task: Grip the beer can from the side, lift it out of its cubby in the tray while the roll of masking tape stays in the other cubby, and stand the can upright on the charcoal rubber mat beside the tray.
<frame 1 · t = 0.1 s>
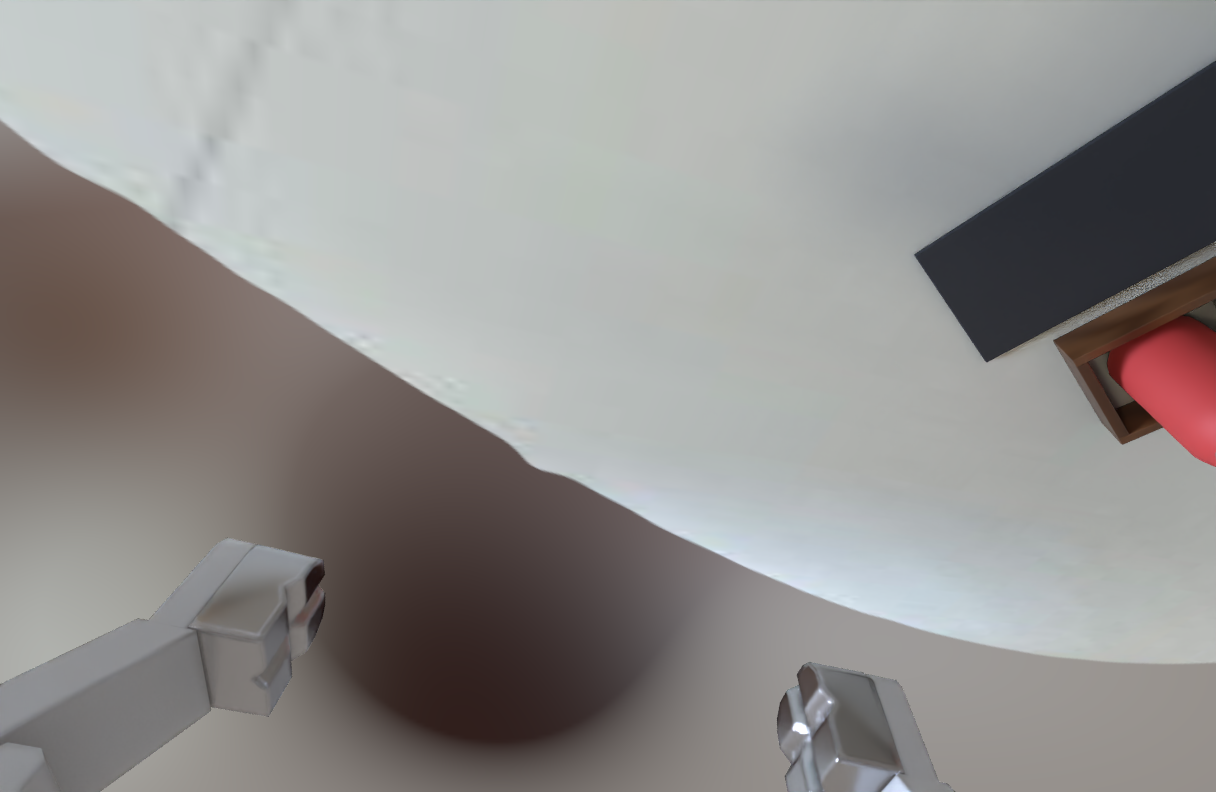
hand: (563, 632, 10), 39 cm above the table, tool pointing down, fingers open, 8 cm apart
mat: (1090, 228, 43), on the table
beer can: (1149, 347, 48), resting in tray
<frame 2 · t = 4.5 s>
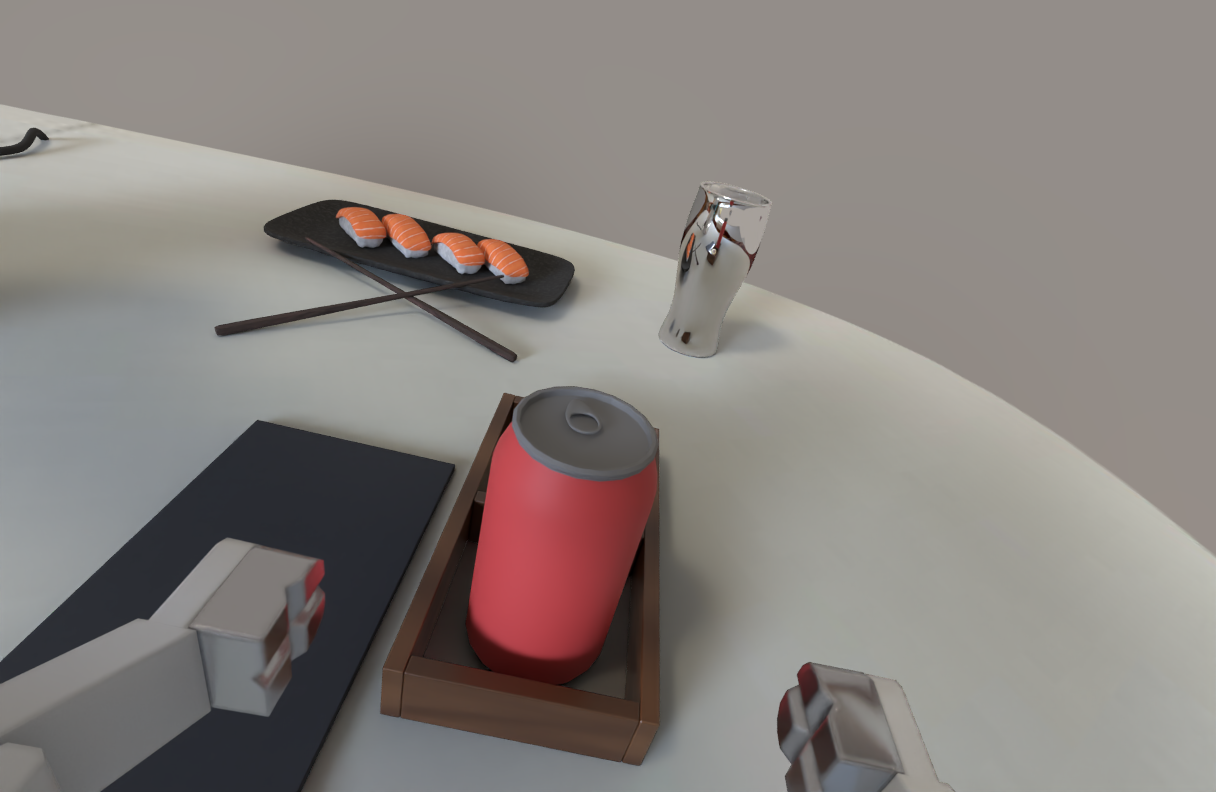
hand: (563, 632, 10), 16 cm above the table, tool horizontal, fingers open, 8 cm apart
mat: (264, 572, 28), on the table
tray: (550, 554, 33), on the table
beer can: (534, 632, 29), resting in tray
beer glass: (686, 344, 61), on the table
sushi plate: (397, 291, 56), on the table
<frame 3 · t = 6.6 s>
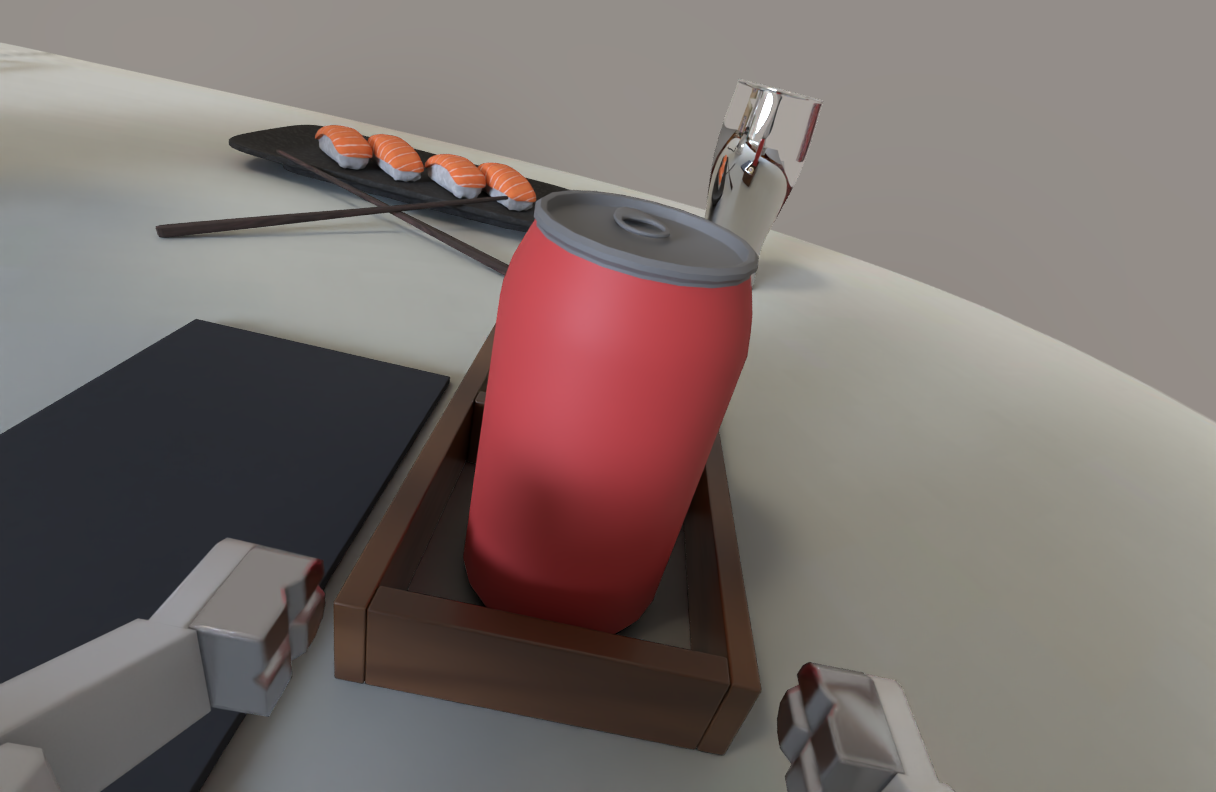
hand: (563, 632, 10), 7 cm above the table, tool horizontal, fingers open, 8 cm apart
mat: (181, 488, 20), on the table
tray: (576, 480, 25), on the table
beer can: (558, 573, 21), resting in tray
beer glass: (717, 279, 53), on the table
sushi plate: (384, 212, 48), on the table
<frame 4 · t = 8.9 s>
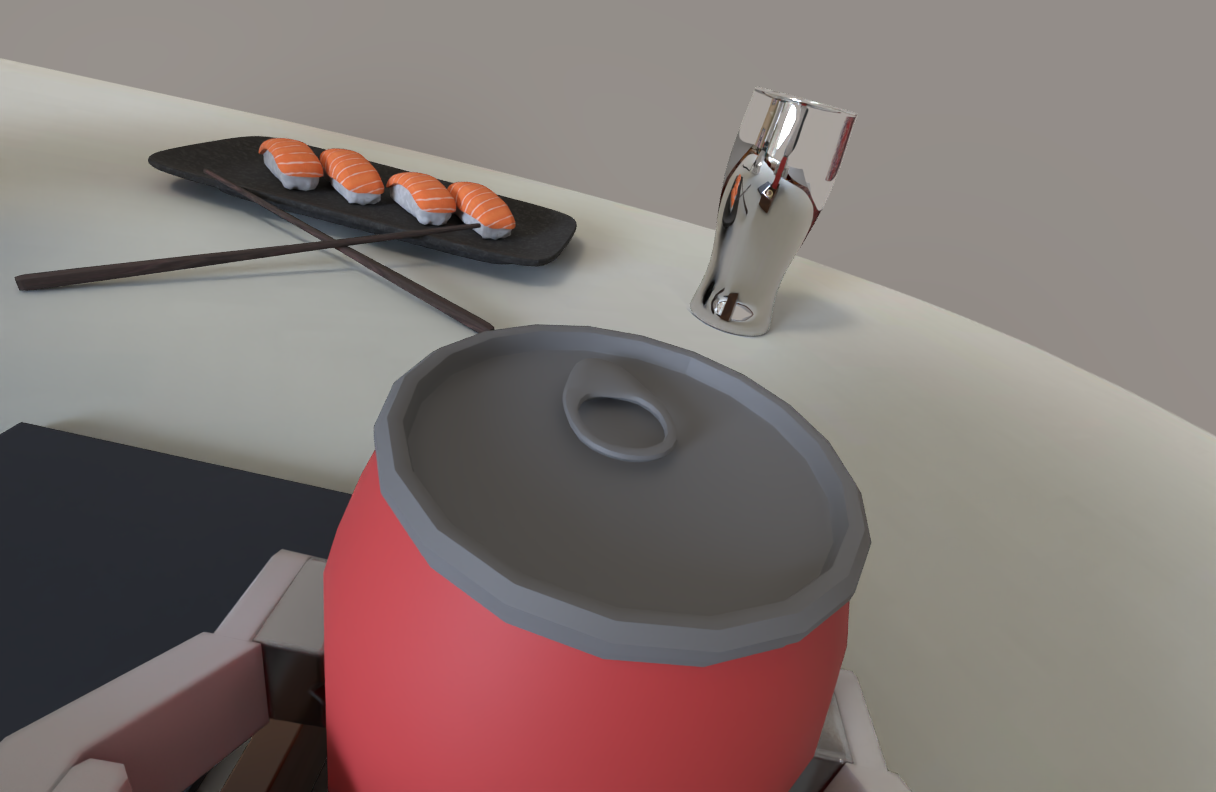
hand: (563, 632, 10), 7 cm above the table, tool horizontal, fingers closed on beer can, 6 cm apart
tray: (536, 676, 17), on the table
beer glass: (727, 319, 45), on the table
sushi plate: (332, 244, 41), on the table
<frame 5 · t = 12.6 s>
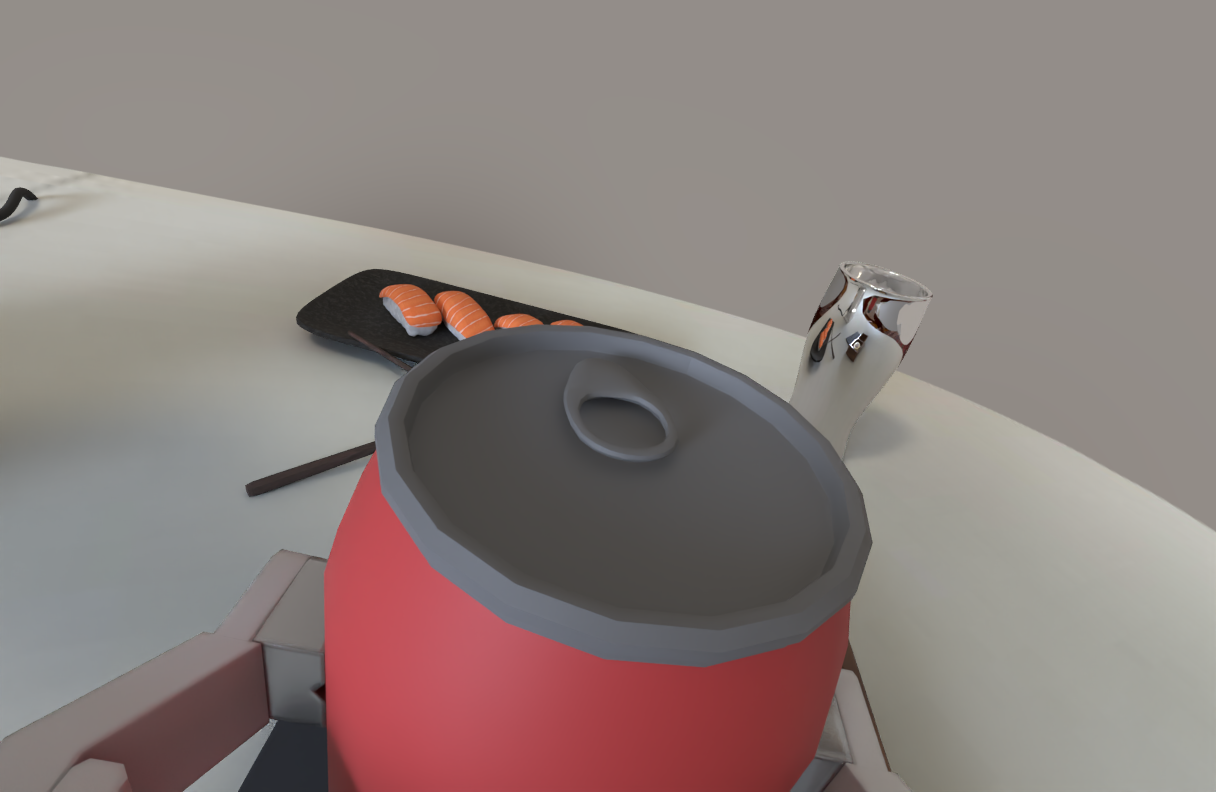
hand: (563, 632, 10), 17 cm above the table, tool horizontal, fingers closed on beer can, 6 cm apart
beer glass: (803, 449, 50), on the table
sushi plate: (461, 396, 46), on the table
when the fingers open (8 cm above the table, at t = 16.2 s): beer can stays where it is, resting on mat.
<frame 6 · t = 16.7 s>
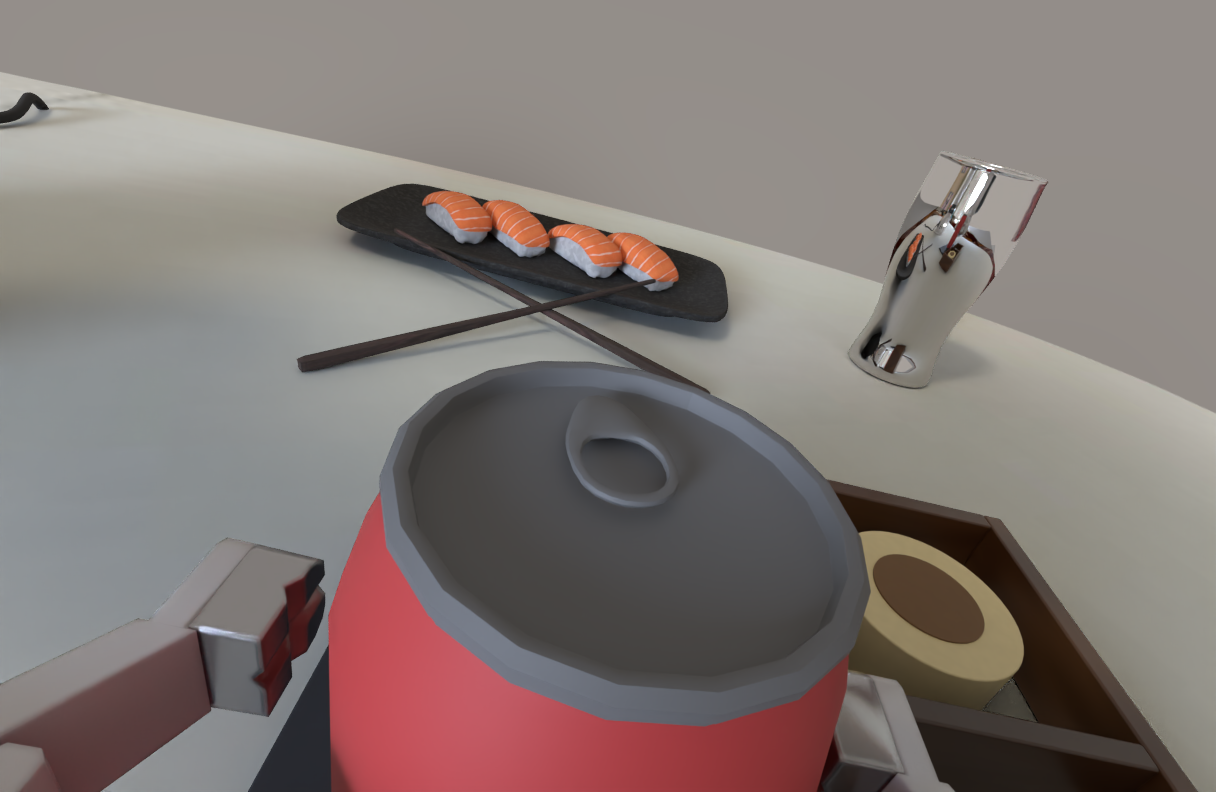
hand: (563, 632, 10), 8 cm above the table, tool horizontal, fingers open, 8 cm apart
tray: (947, 781, 18), on the table
beer glass: (885, 369, 46), on the table
sushi plate: (518, 301, 42), on the table
tape roll: (892, 643, 22), resting in tray
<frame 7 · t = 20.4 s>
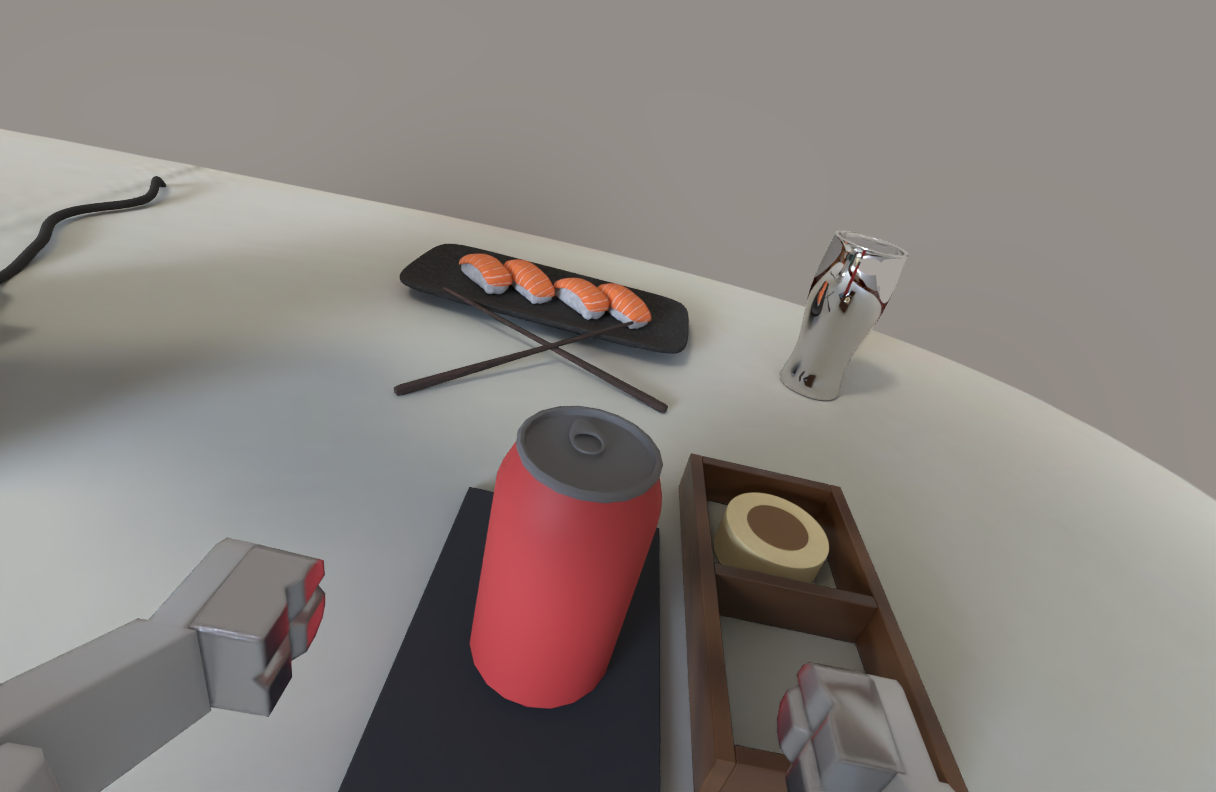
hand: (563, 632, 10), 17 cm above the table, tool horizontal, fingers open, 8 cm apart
mat: (535, 650, 29), on the table
tray: (776, 621, 34), on the table
beer can: (538, 651, 29), resting on mat
beer glass: (807, 386, 62), on the table
sushi plate: (532, 339, 57), on the table
tape roll: (762, 557, 38), resting in tray
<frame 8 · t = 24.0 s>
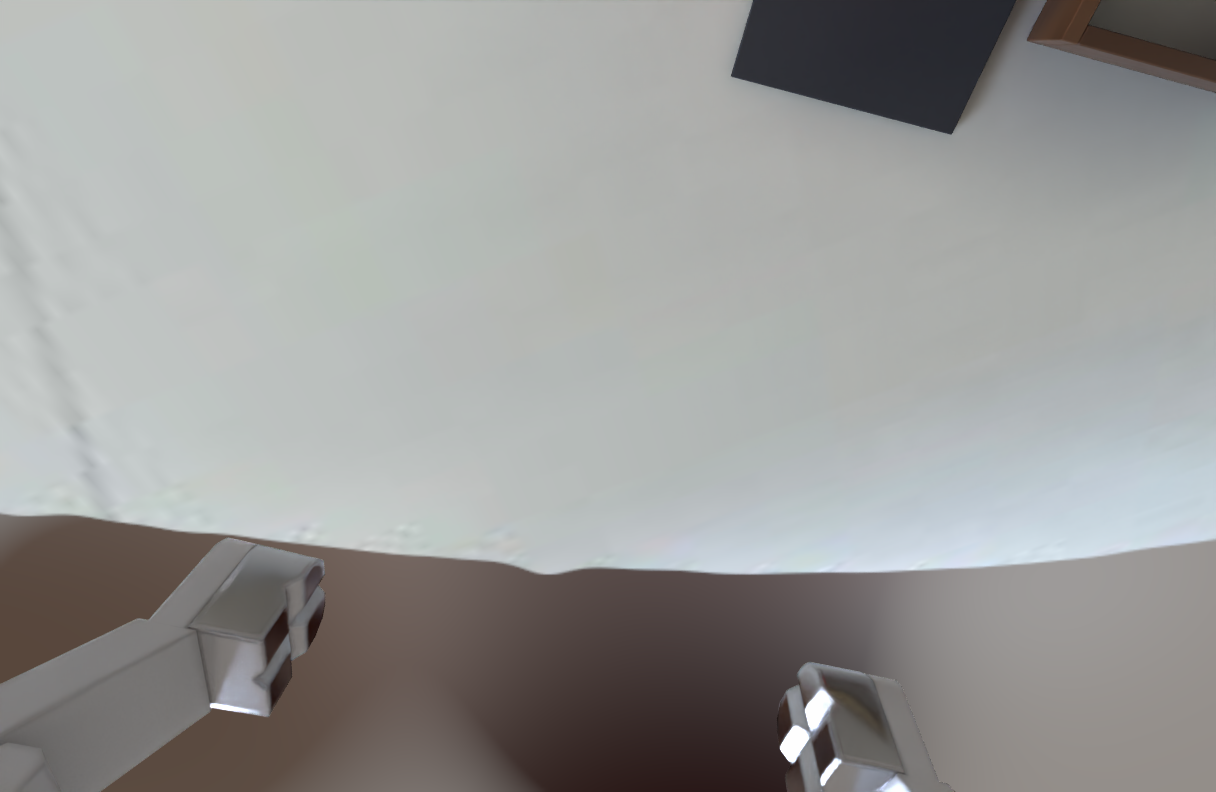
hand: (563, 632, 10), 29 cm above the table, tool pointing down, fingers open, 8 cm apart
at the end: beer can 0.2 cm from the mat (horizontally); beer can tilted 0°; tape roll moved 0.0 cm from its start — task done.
